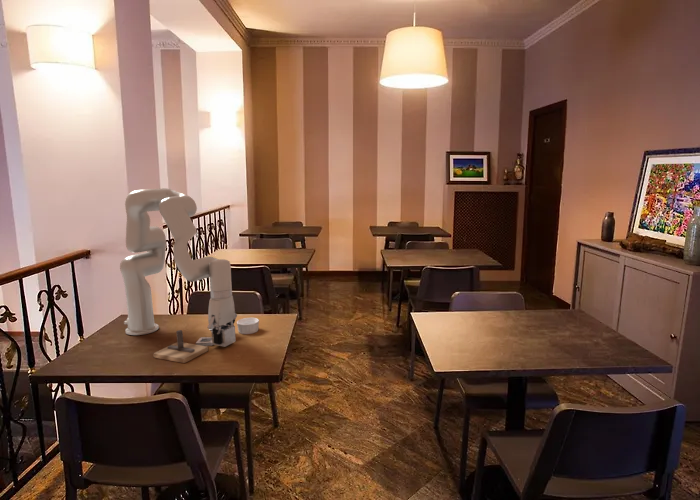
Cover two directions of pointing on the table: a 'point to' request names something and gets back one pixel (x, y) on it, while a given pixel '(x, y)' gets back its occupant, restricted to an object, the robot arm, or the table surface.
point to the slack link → (200, 342)
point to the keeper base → (181, 354)
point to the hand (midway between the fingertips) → (223, 340)
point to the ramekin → (248, 325)
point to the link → (226, 335)
